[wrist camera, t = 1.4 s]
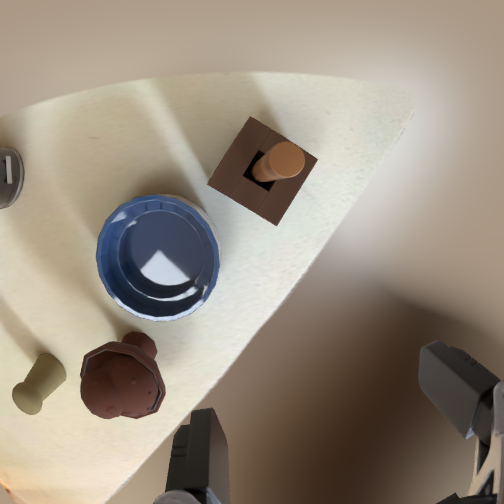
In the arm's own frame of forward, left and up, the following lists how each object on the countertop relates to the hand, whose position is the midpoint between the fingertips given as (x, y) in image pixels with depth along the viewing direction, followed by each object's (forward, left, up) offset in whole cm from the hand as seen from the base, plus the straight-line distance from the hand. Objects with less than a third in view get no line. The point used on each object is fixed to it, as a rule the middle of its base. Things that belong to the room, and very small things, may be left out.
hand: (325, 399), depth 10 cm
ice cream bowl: (-7, -21, -30) cm, 37 cm away
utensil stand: (-5, +8, -30) cm, 31 cm away
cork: (-19, -35, -30) cm, 50 cm away
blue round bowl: (-10, -6, -30) cm, 32 cm away
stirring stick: (-5, +8, -30) cm, 31 cm away
